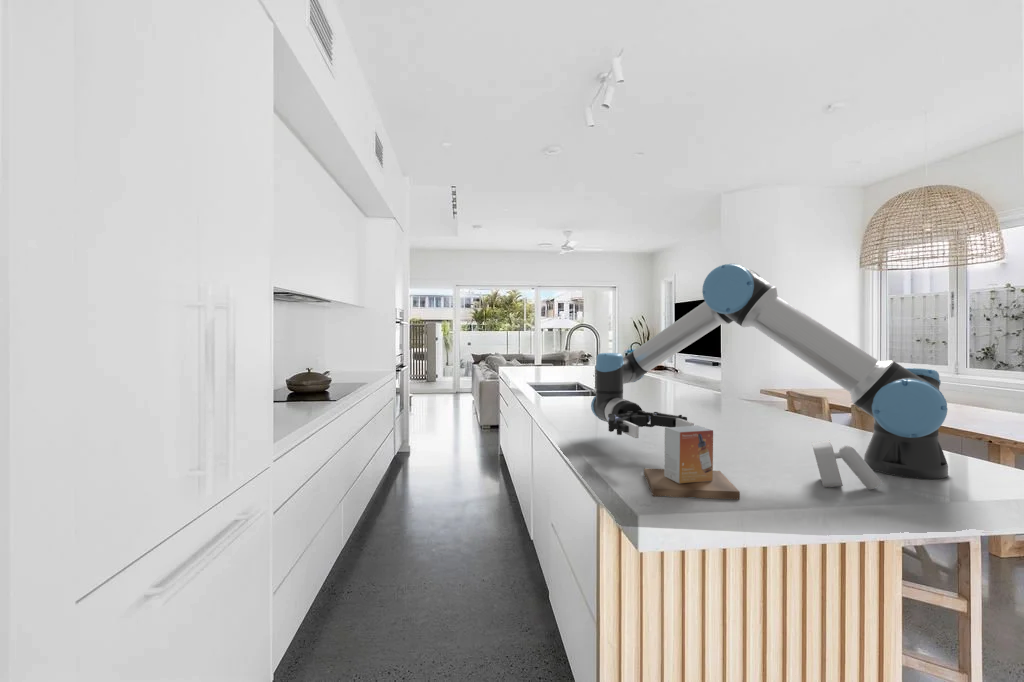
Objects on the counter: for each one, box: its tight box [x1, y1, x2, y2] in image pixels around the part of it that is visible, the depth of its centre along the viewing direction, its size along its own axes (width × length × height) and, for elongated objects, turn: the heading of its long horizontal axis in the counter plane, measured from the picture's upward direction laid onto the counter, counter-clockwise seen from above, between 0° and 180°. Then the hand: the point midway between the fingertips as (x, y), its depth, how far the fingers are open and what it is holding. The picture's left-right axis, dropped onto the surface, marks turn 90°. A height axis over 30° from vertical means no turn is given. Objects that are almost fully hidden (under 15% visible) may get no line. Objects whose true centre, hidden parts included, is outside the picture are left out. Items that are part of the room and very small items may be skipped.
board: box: [643, 467, 741, 500], centre depth 105 cm, size 16×14×2 cm
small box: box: [663, 424, 714, 484], centre depth 105 cm, size 8×6×10 cm
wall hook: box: [811, 439, 883, 490], centre depth 105 cm, size 8×10×10 cm
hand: (665, 430), depth 114 cm, fingers open, 13 cm apart
